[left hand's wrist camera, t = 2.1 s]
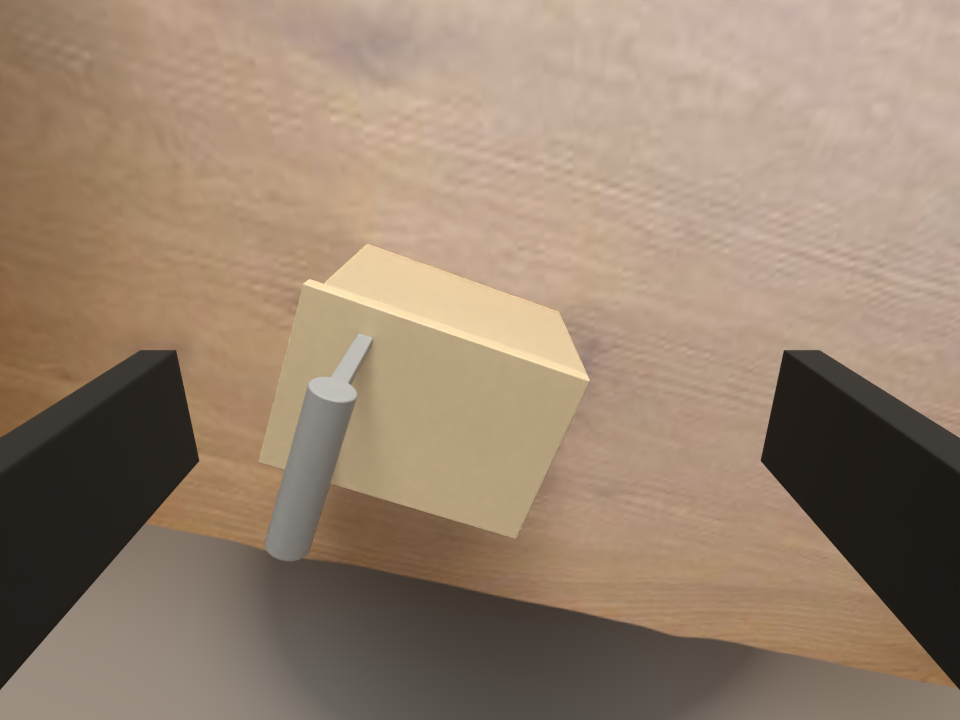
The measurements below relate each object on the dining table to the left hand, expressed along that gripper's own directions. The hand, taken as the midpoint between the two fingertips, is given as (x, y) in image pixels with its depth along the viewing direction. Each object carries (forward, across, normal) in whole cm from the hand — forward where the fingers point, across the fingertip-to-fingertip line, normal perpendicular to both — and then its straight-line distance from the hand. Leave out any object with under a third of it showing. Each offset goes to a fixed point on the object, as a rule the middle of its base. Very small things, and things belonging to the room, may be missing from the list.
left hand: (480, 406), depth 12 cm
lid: (+14, -3, -7) cm, 16 cm away
